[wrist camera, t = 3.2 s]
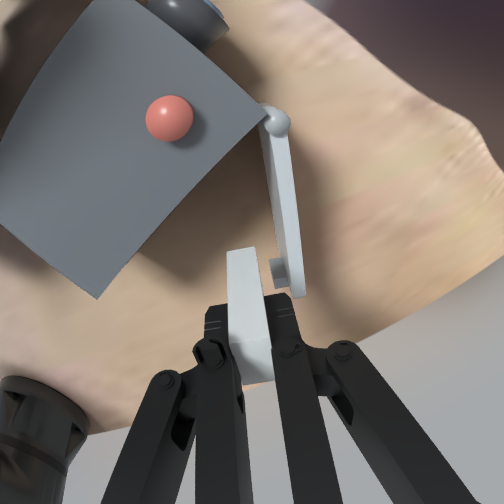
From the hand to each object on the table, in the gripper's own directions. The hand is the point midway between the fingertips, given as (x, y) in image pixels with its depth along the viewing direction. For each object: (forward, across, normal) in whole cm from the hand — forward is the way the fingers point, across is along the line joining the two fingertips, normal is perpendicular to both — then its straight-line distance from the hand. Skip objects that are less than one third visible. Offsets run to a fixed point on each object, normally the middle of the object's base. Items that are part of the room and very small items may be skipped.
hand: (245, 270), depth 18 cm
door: (+7, +2, +2) cm, 7 cm away
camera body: (+7, -5, +9) cm, 12 cm away
